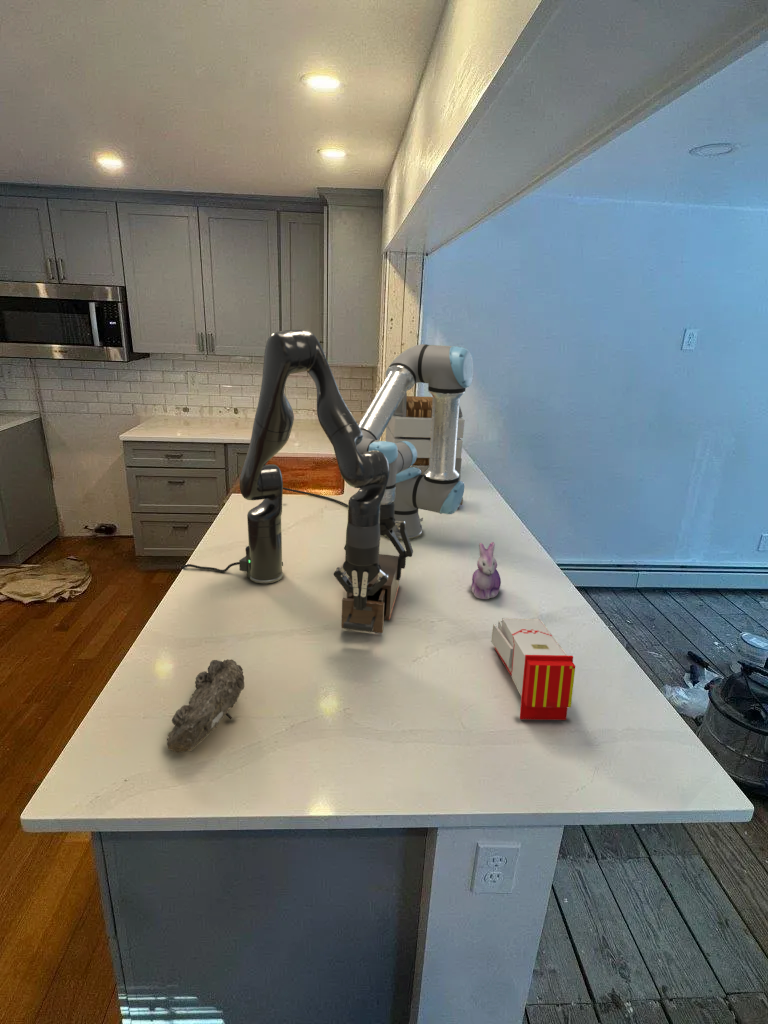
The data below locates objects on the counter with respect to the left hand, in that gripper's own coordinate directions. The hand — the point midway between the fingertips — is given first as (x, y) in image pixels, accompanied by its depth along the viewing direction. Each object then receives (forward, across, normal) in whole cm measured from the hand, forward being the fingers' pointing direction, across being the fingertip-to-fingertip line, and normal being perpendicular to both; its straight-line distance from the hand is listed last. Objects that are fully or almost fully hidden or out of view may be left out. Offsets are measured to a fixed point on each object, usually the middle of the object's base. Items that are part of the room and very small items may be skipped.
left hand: (360, 608), depth 132 cm
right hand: (+4, 0, +25) cm, 26 cm away
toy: (+8, +38, -6) cm, 40 cm away
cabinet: (+9, 0, +20) cm, 22 cm away
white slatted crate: (+11, +1, +150) cm, 151 cm away
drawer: (+8, 0, +9) cm, 12 cm away
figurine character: (+10, +18, +107) cm, 109 cm away
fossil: (+9, -22, -32) cm, 40 cm away
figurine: (+9, +30, +32) cm, 45 cm away
